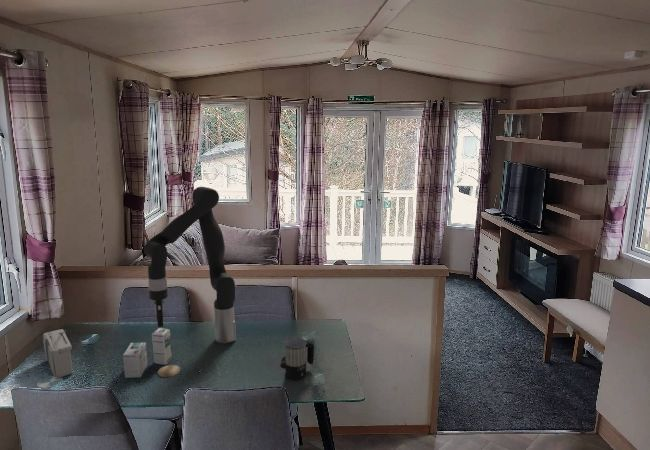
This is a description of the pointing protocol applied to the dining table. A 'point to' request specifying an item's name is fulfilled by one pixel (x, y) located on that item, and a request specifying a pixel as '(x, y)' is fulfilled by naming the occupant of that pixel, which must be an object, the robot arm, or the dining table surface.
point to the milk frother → (297, 358)
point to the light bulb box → (135, 360)
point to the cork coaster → (168, 371)
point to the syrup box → (162, 346)
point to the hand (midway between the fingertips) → (160, 322)
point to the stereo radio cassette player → (58, 352)
